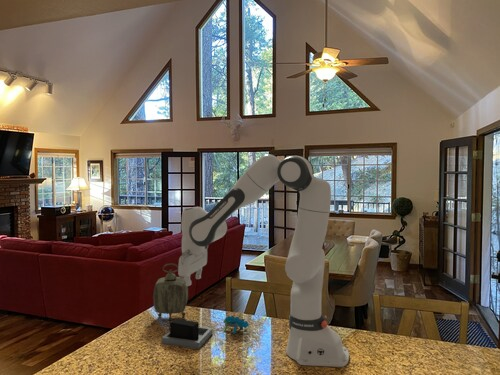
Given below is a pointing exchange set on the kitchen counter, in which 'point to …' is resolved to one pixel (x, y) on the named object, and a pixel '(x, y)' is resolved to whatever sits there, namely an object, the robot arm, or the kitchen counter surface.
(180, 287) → the tabletop clock
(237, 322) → the blue lumpy piece
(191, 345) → the tray
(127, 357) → the kitchen counter surface
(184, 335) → the digital camera
